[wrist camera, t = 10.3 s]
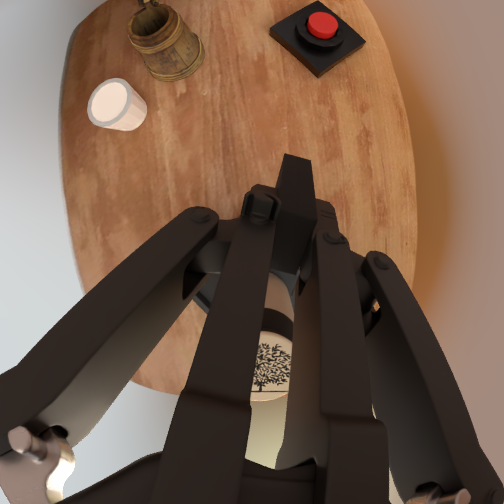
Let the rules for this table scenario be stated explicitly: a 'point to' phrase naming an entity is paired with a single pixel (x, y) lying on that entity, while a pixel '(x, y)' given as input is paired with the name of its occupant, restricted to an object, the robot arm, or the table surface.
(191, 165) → the table surface
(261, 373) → the travel mug
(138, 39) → the wooden mug
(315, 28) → the button
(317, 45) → the control block
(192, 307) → the table surface
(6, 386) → the robot arm
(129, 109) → the white cup
